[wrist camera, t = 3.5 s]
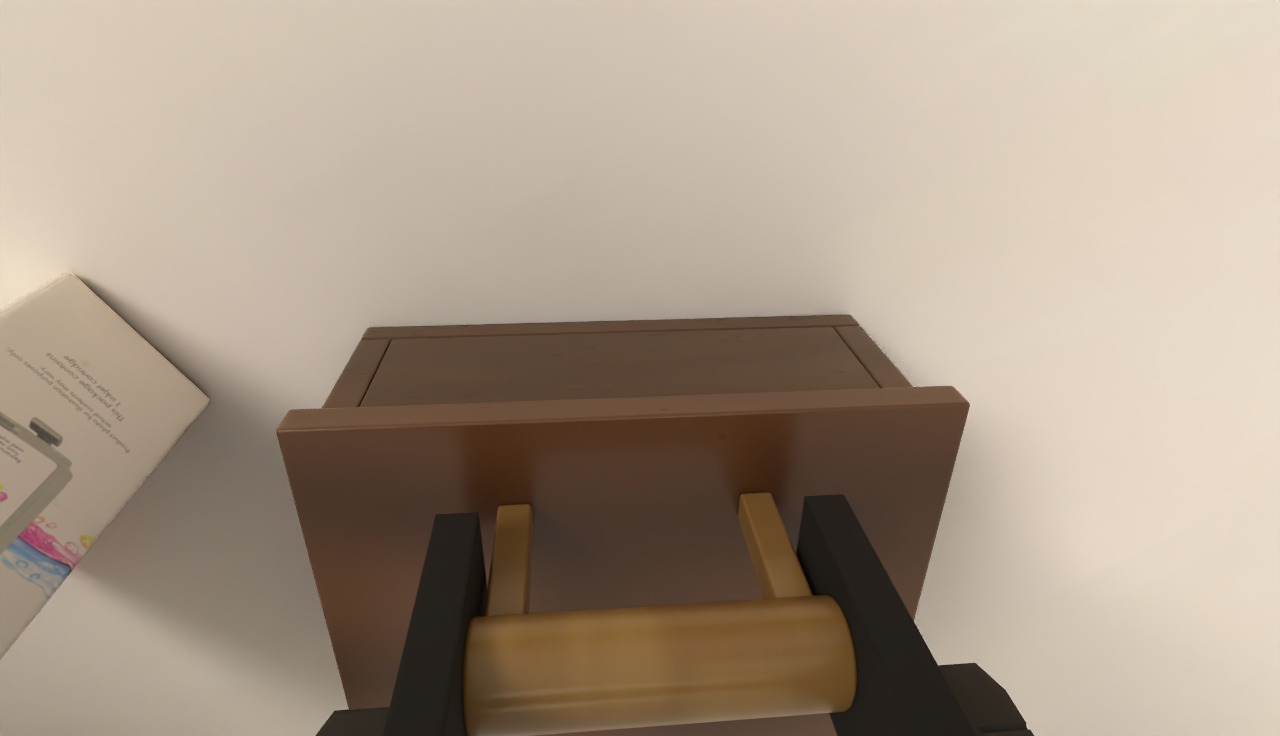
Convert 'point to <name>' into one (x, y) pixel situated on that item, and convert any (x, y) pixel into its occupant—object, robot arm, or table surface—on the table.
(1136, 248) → the table surface
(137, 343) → the ink cartridge box
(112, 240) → the table surface
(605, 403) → the lid
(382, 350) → the walnut box
